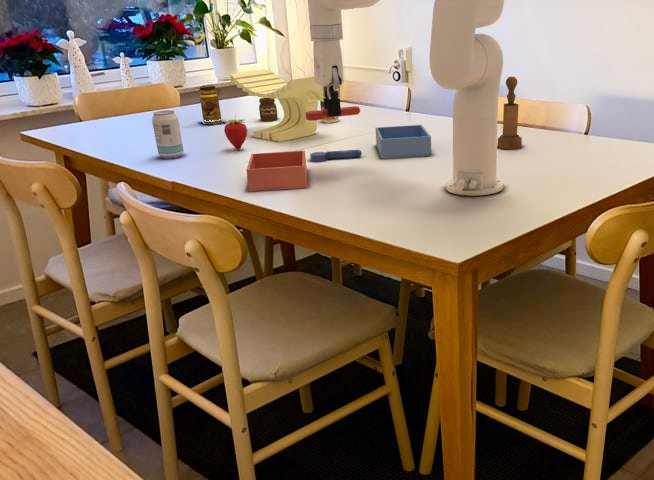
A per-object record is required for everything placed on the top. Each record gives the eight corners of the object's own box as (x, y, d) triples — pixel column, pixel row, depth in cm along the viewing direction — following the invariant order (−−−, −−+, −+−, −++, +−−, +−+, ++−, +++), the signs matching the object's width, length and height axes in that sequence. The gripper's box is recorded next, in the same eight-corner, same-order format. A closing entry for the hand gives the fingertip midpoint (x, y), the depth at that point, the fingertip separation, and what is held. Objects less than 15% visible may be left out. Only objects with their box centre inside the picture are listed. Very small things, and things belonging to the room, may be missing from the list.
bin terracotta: (306, 187, 171) (304, 166, 169) (249, 191, 170) (246, 169, 168) (306, 170, 186) (304, 150, 184) (254, 173, 185) (251, 153, 183)
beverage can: (189, 154, 209) (181, 110, 203) (176, 159, 203) (168, 114, 198) (167, 153, 211) (159, 110, 205) (154, 159, 205) (145, 114, 199)
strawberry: (239, 146, 216) (234, 110, 211) (254, 149, 211) (249, 113, 207) (222, 149, 212) (217, 113, 208) (237, 153, 208) (232, 116, 203)
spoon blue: (361, 155, 199) (361, 147, 198) (362, 158, 195) (362, 151, 194) (310, 158, 198) (309, 150, 197) (310, 162, 194) (309, 154, 193)
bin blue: (431, 155, 195) (431, 136, 193) (381, 158, 194) (380, 139, 192) (422, 142, 211) (421, 124, 208) (376, 145, 209) (375, 127, 207)
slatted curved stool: (338, 135, 224) (333, 73, 216) (296, 145, 214) (290, 80, 206) (278, 125, 243) (272, 68, 235) (238, 133, 234) (229, 73, 225)
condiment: (205, 125, 249) (199, 88, 243) (199, 122, 255) (193, 85, 250) (226, 123, 251) (221, 86, 246) (219, 119, 258) (214, 83, 253)
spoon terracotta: (357, 112, 184) (357, 104, 183) (363, 115, 181) (362, 107, 180) (304, 118, 180) (303, 109, 180) (308, 121, 177) (307, 112, 176)
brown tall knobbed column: (520, 149, 198) (523, 78, 189) (496, 149, 199) (498, 78, 191) (522, 144, 203) (524, 74, 195) (498, 144, 205) (500, 75, 196)
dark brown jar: (259, 119, 256) (254, 82, 250) (277, 117, 257) (273, 81, 252) (261, 122, 251) (257, 84, 245) (280, 120, 252) (275, 83, 247)
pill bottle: (319, 121, 248) (316, 90, 243) (335, 119, 250) (332, 88, 245) (325, 123, 243) (322, 92, 239) (341, 121, 245) (339, 90, 241)
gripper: (302, 32, 177) (310, 112, 186) (319, 36, 164) (326, 121, 173) (332, 30, 180) (338, 109, 188) (351, 34, 166) (357, 118, 175)
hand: (332, 114), depth 180 cm, fingers closed on spoon terracotta, 2 cm apart
